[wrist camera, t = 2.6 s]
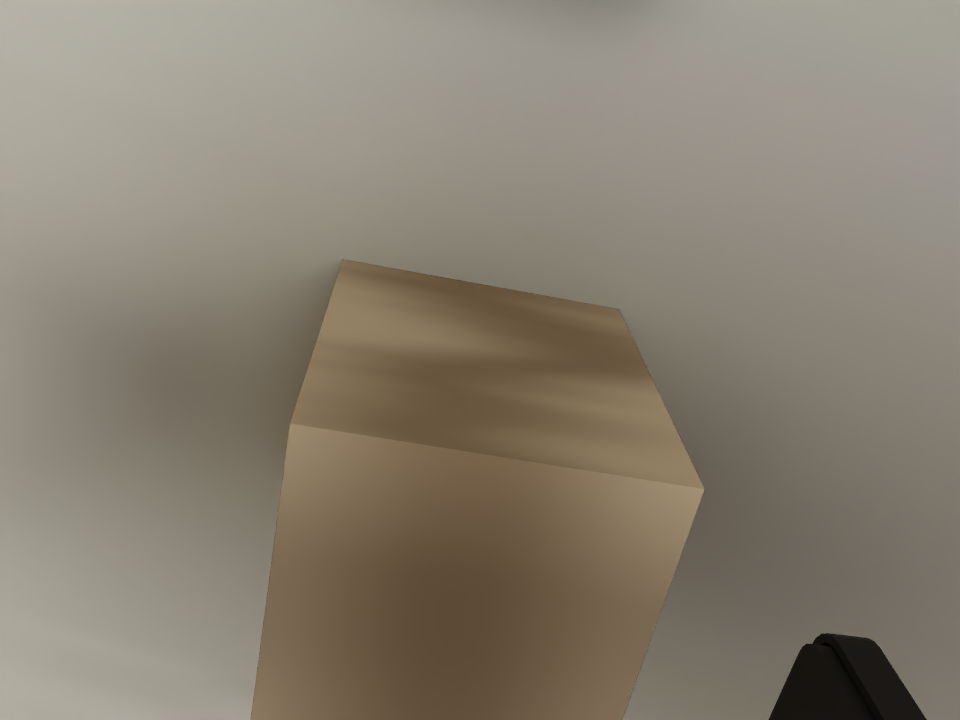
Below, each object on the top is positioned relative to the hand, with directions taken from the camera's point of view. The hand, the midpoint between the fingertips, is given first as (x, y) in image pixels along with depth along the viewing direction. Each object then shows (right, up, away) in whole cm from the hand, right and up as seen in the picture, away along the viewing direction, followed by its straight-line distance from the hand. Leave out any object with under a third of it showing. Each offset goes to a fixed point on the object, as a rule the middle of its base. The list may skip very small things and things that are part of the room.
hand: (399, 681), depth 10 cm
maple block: (+1, +3, +7) cm, 7 cm away
